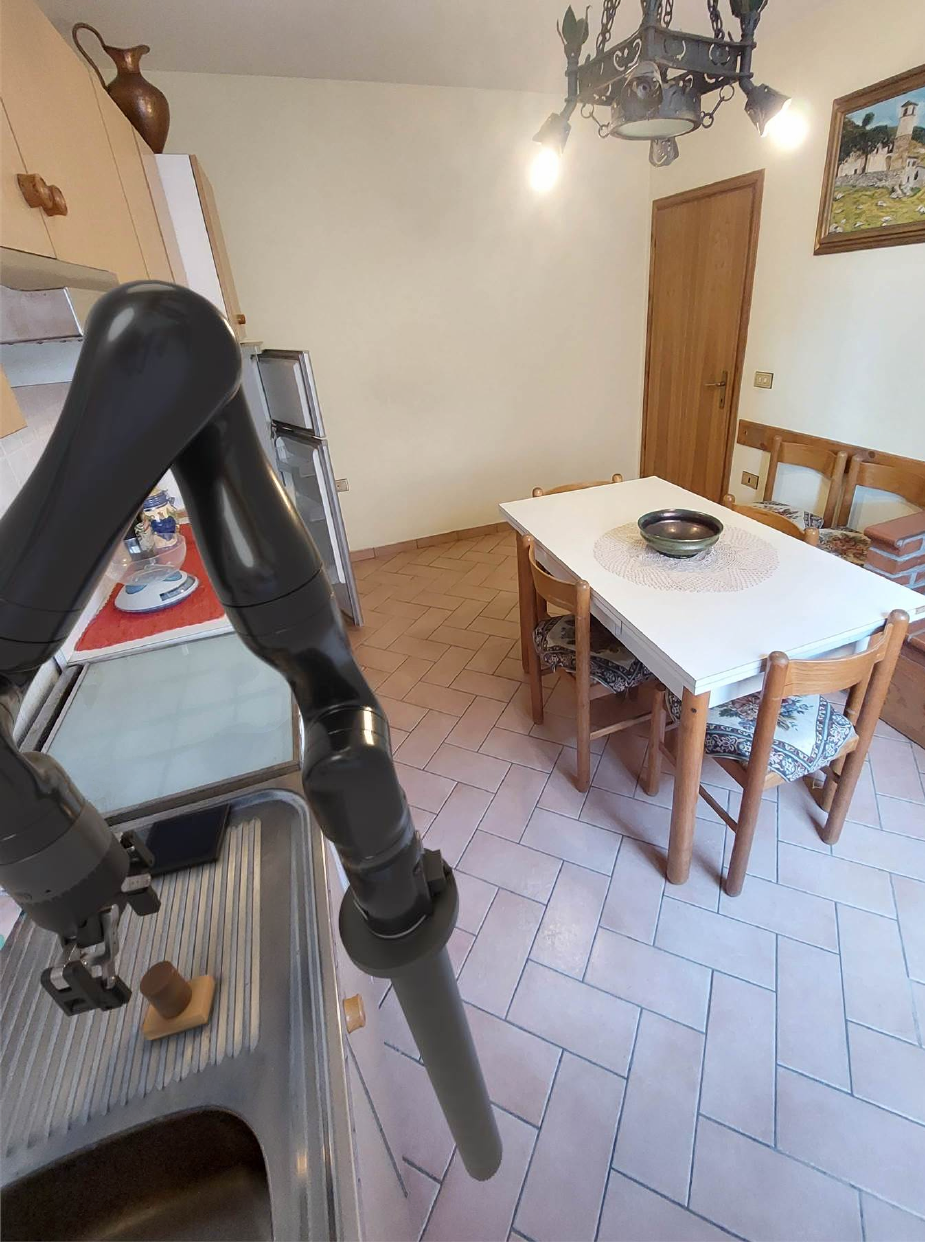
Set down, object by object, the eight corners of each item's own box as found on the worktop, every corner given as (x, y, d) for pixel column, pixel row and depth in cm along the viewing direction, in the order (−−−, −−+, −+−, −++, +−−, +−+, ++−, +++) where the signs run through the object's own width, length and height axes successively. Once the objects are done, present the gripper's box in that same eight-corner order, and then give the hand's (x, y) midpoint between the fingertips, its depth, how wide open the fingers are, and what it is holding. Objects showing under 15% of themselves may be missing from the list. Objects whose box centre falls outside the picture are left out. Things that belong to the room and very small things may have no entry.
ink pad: (231, 807, 86) (229, 803, 85) (218, 861, 78) (215, 857, 77) (156, 826, 84) (153, 822, 83) (134, 883, 76) (131, 879, 76)
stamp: (217, 984, 64) (191, 948, 60) (208, 1025, 61) (181, 990, 57) (160, 1001, 63) (130, 966, 59) (148, 1043, 60) (115, 1009, 56)
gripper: (69, 929, 43) (152, 1024, 50) (136, 781, 55) (194, 876, 63) (-40, 958, 41) (62, 1051, 49) (53, 800, 54) (123, 894, 61)
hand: (136, 953), depth 56 cm, fingers open, 8 cm apart
